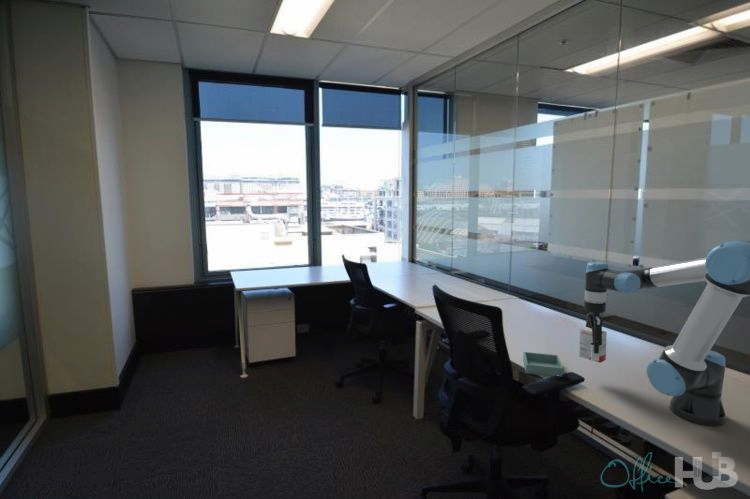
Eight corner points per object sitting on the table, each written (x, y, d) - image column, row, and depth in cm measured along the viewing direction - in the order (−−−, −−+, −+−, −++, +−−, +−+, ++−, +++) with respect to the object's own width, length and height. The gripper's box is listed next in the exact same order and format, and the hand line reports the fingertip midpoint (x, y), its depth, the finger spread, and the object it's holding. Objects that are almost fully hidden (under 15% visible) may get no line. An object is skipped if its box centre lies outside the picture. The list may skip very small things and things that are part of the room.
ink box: (606, 360, 163) (608, 331, 162) (599, 363, 160) (601, 334, 159) (584, 354, 170) (586, 326, 169) (578, 356, 167) (579, 328, 166)
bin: (562, 377, 169) (563, 368, 169) (525, 373, 173) (526, 364, 173) (557, 363, 183) (557, 355, 183) (523, 360, 187) (523, 351, 186)
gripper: (613, 308, 151) (610, 367, 154) (598, 295, 172) (595, 347, 174) (591, 307, 153) (588, 365, 156) (579, 294, 174) (576, 346, 176)
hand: (592, 356), depth 165 cm, fingers closed on ink box, 9 cm apart
